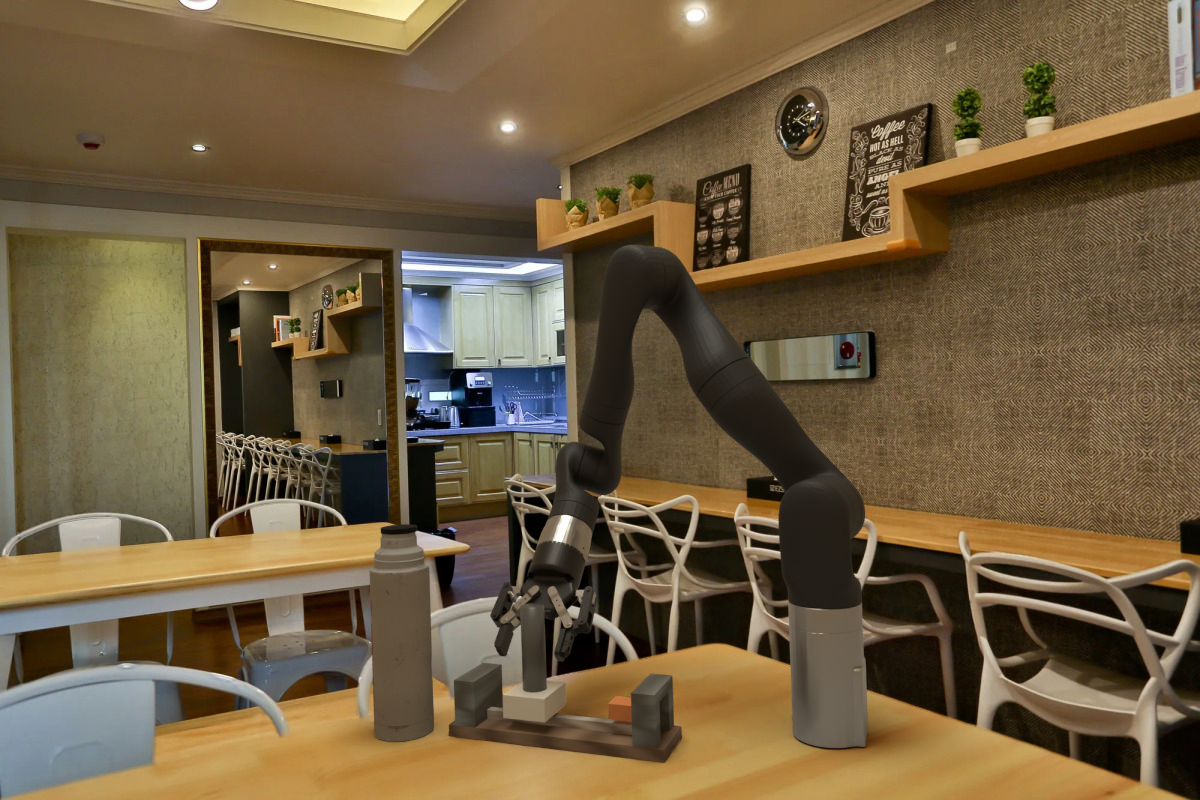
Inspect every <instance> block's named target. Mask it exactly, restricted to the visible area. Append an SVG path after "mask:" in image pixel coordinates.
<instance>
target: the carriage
mask: <svg viewBox="0 0 1200 800" xmlns="http://www.w3.org/2000/svg"><path fill="white" fill-rule="evenodd" d="M520 615H521V625H520V639H521V668H522V669H521V670H522V672H521V675H522V676H521V677H522V681H521V682H519V683H518V684H516V685H515V686H513V687H511V688H510V689H508V690H507V692H505V693H504V694H503V718H508V719H517V720H526V721H535V722H544V723H545V722H546V721H548V720H549V719H550V718H551V717H552V716H553V715H555V714H556V713H559V711H560V710H562V709H563V708H564V707H566V706H567V683H566V682H565V681H557V680H556V681H555V680H548V679H547V657H546V656H547V655H546V654H547V653H546V625H545V623H546V620H545V619H546V618H545V616H544V605H543V604H540V603H529V604H524V605H521V606H520Z"/></svg>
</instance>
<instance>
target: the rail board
mask: <svg viewBox="0 0 1200 800" xmlns="http://www.w3.org/2000/svg"><path fill="white" fill-rule="evenodd" d="M502 666H503V665H502V663H501V664H500V663H491V662H490V663H489V662H482V663H481V664H478V665H477V666H475V667H474V668H472V669H470V670H468V671H467V672H465V673H463V674H462V675H460V676H458V677H457V678H455V679H454V680H453V696H454V699H453V701H454V702H453V703H454V720H452V722H450V723H449V724H448V736H449V737H453V738H454V737H456V738H464V739H469V740H470V739H473V740H480V741H489V742H494V743H495V742H496V743H505V744H513V745H521V746H527V747H529V746H530V747H538V748H544V749H553V750H559V751H560V750H561V751H569V752H577V753H585V754H595V755H600V756H610V757H616V758H617V757H619V758H625V759H635V760H642V761H649V762H650V761H651V762H657V763H658V762H659V763H665V762H666V761H667V759H668V758H669V756H670V755H671V753H673V751H674V750H675V749H676V747H677V745H678V743H679V742H680V741H681V740H682V738H683V731H682V726H681V725H675V715H674V714H675V713H674V712H675V709H674V708H675V707H674V683H673V682H674V681H673V675H672V674H661V673H649V674H648V675H647V676H646V677H645V678H644V679H643V681H642V682H640V684H638V685H637V686H636V687H635V689H633V690H632V691H631V693H630V697H631V713H632V722H628V721H619V720H609V717H600V716H590V715H581V714H572V713H563V712H562V713H561V712H557V713H556V714H555V715H553V716H552V717H551V718H550V719H549V720H548V721H546V722H545V723H544V722H535V721H526V720H517V719H508V718H503V692H504V690H503V667H502Z"/></svg>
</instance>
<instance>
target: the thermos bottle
mask: <svg viewBox="0 0 1200 800" xmlns="http://www.w3.org/2000/svg"><path fill="white" fill-rule="evenodd" d="M417 531H418V525H416V524H409V523H407V524H404V523H403V524H400V523H399V524H391V525H386V526H382V527H380V534H381V537H380V547H379V548H378V549H376V550H375V551H374V556H373V558H372V559H373V561H374V565H373V566H371V567H370V568H369V592H370V593H369V595H370V600H369V601H370V629H371V663H372V664H371V665H372V666H371V668H372V669H371V670H372V692H373V693H372V697H373V698H372V699H373V702H372V703H373V704H372V705H373V729H374V733H373V734H374V736H375V738H377V739H378V738H379V740H381V741H384V740H385V742H407V741H411V740H417V739H420V738H423V737H425V736H427V735H429V734H430V733H431V732H432V731H433V730H434V728H435V717H434V716H435V715H434V714H435V713H434V707H435V706H434V681H433V670H432V667H433V666H432V665H433V664H432V661H433V659H432V658H433V657H432V655H433V654H432V652H433V651H432V649H433V648H432V646H433V644H432V643H433V642H432V614H431V610H432V609H431V608H432V607H431V583H430V581H431V580H430V564H429V563H428V562H427V563H426V562H425V555H426V553H425V552H424V548H423V547H421V546H419V545H418V537H417V534H416V532H417Z"/></svg>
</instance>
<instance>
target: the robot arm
mask: <svg viewBox="0 0 1200 800" xmlns="http://www.w3.org/2000/svg"><path fill="white" fill-rule="evenodd" d="M643 310H651V311H652V312H653V313H654V314H655V315H656V316H657V317H658V318H659V319H660V320H661V322H662V323H663V324H664V325H665V326H666V328H667V329H668V330H669V331H670V333H671V334H672V335H673V337H674V338H675V341H676V343H677V345H678V347H679V349H680V353H681V357H682V362H683V367H684V372H685V376H686V379H687V382H688V384H689V387H690V388H691V390H692V392H693V394H694V395H695V397H696V398H697V400H698V401H699V403H700V404H701V405H702V406H703V408H704V409H705V410H706V412H707V413H708V414H709V416H710V417H711V418H712V420H713V421H714V422H715V424H717V425H718V426H719V427H720V429H722V431H724V432H725V434H727V435H728V436H729V437H730V438H731V439H733V440H734V441H735V442H736V443H738V444H739V445H740V446H741V447H742V448H744V449H745V450H746V451H748V453H750V454H751V455H752V456H754V457H755V458H756V459H758V461H760V462H761V463H762V464H763V465H764V466H765V467H766V468H767V469H768V471H769V472H770V473H771V474H772V475H773V477H774V478H775V479H776V480H777V482H778V484H779V485H780V486H781V488H782V489H783V491H784V492H785V493H784V494H783V496H782V498H781V500H780V504H779V509H778V522H777V523H778V524H777V525H778V539H779V541H778V542H779V552H780V554H779V555H780V564H781V565H780V567H781V575H782V578H783V581H784V583H785V586H786V589H787V599H788V600H787V603H788V605H787V606H788V607H787V608H788V609H787V611H788V628H789V629H788V633H789V638H788V639H789V660H790V663H789V664H790V665H789V666H790V687H791V689H790V692H791V694H790V695H791V721H792V734H793V736H794V737H795V738H796V739H797V740H799V741H801V742H803V743H805V744H807V745H811V746H815V747H820V748H827V749H845V748H853V747H860V748H861V747H862V748H865V747H866V745H867V739H868V732H869V719H868V717H869V715H868V694H867V693H868V692H867V691H868V690H867V687H868V686H867V665H866V657H865V655H864V653H865V651H864V630H863V629H864V627H863V623H864V621H863V599H862V598H863V596H862V584H861V581H860V580H859V579H858V577H856V575H855V573H854V570H853V561H852V560H853V559H852V558H853V557H852V543H851V540H852V539H854V538H855V537H856V536H857V535H858V534H859V533H860V532H861V530H862V529H863V527H864V524H865V520H866V507H865V503H864V500H863V498H862V495H861V493H860V492H859V490H858V488H857V487H856V486H855V485H854V484H853V483H852V481H850V479H848V477H847V476H845V474H844V473H843V472H842V471H841V470H840V469H839V468H838V467H837V466H836V465H835V464H834V462H832V461H831V460H830V458H829V457H828V456H827V455H826V454H825V453H824V452H823V451H822V450H821V449H820V448H819V447H818V446H817V445H816V444H815V442H813V440H812V439H811V438H810V436H809V435H808V434H807V433H806V432H805V430H804V429H803V428H802V426H801V424H800V423H799V421H798V420H797V419H796V417H795V416H794V415H793V413H792V411H791V410H790V409H789V408H788V406H787V404H785V402H784V401H783V399H782V398H781V397H780V396H779V394H778V393H777V392H776V390H775V389H774V387H773V386H772V385H771V383H770V382H769V380H768V379H767V377H766V376H765V375H764V374H763V372H762V371H761V369H759V367H758V366H757V365H756V363H755V362H754V361H753V359H752V358H751V357H750V355H748V353H747V352H746V351H745V349H743V348H742V346H741V345H740V344H739V343H738V341H737V340H736V339H735V337H734V336H733V334H731V332H730V330H729V329H728V328H727V327H726V326H725V324H724V323H723V322H722V320H721V319H720V318H719V317H718V316H717V315H716V314H715V312H714V311H713V309H712V308H711V307H710V305H709V303H708V302H707V301H706V299H705V297H704V296H703V294H702V293H701V291H700V289H699V288H698V286H697V284H696V283H695V281H694V279H693V277H692V276H691V274H690V273H689V271H688V269H687V268H686V266H685V264H683V261H681V259H680V258H679V257H678V255H676V254H675V253H674V252H672V251H671V250H669V249H667V248H665V247H661V246H653V245H650V246H649V245H643V244H627V245H624V246H621V247H619V248H618V249H617V250H615V252H614V253H613V254H612V255H611V257H610V258H609V260H608V262H607V266H606V269H605V272H604V278H603V285H602V292H601V304H600V311H599V321H598V329H597V338H596V348H595V353H594V354H595V355H594V359H593V366H592V370H591V375H590V379H589V383H588V387H587V390H586V393H585V397H584V401H583V404H582V406H581V407H582V408H581V412H580V415H579V420H578V425H579V428H580V429H581V431H582V432H584V433H585V434H587V435H588V436H590V437H592V438H594V439H595V440H596V441H598V442H599V443H601V445H602V446H603V448H601V447H596V446H592V445H589V444H586V443H583V442H579V441H570V442H567V443H566V444H564V445H563V446H562V447H561V448H560V449H559V450H558V453H557V455H556V459H555V493H554V499H553V502H552V506H551V509H550V512H549V514H548V517H547V521H546V522H545V526H544V527H543V529H542V531H541V533H540V536H539V538H538V542H537V545H536V548H535V551H534V553H533V557H532V559H531V562H530V565H529V568H528V572H527V576H526V581H525V582H524V583H523V585H521V586H514V585H512V583H511V582H509V581H506V582H504V583H503V584H502V587H501V589H500V592H499V593H498V596H497V599H496V601H495V602H494V605H493V607H492V610H491V612H490V614H489V615H490V619H491V620H492V622H493V624H495V626H496V627H497V628H498V631H497V635H496V637H495V639H494V643H493V645H494V649H495V651H496V652H497V654H498V655H499V657H507V655H508V651H509V649H510V646H511V643H512V641H513V640H512V639H513V637H514V631H515V630H516V629H517V628H519V627H521V615H520V606H521V605H524V604H529V603H540V604H543V605H544V616H545V619H547V620H549V621H555V620H556V619H557V618H560V621H561V622H562V624H563V628H561V629H560V631H559V634H558V637H557V642H556V643H555V644H556V645H555V649H554V651H553V653H554V655H553V656H554V657H555V659H556V660H557V662H565V659H566V658H568V657H569V656H570V654H571V652H572V651H571V650H572V647H573V643H574V642H575V641H574V640H575V637H577V636H578V635H579V634H585V635H589V634H590V633H591V631H592V627H593V622H594V617H595V612H596V607H597V603H598V596H597V594H596V592H595V590H594V589H593V587H592V586H591V585H587V586H586V587H584V589H579V587H580V586H581V585H580V584H581V581H582V577H583V573H584V570H585V567H586V564H587V563H586V562H587V560H588V558H589V554H590V550H591V549H590V548H591V544H592V537H593V533H594V530H595V526H596V522H597V520H598V516H599V510H600V505H599V502H598V500H597V498H595V497H594V496H593V494H596V495H599V496H607V495H610V494H612V493H613V492H615V491H616V489H617V488H618V486H619V484H620V482H621V478H622V465H623V464H622V441H623V440H622V439H623V434H624V429H625V426H626V421H627V418H628V414H629V411H630V407H631V404H632V400H633V396H634V391H635V367H634V360H633V340H634V334H635V330H636V327H637V323H638V321H639V318H640V316H641V314H642V312H643ZM589 492H590V493H589ZM591 493H593V494H591ZM519 597H520V599H518V598H519ZM517 599H518V600H517ZM577 602H579V604H580V607H579V610H578V615H577V616H578V617H577V619H575V620H572V617H571V615H570V612H569V611H568V610H569V609H570V608H571V607H572V606H573V605H574V604H575V603H577Z"/></svg>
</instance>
